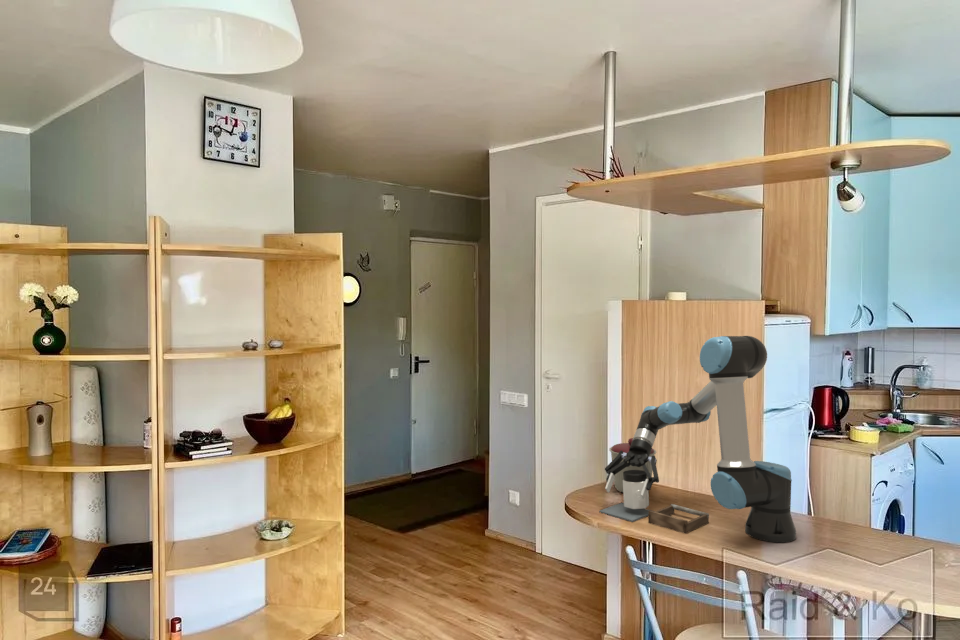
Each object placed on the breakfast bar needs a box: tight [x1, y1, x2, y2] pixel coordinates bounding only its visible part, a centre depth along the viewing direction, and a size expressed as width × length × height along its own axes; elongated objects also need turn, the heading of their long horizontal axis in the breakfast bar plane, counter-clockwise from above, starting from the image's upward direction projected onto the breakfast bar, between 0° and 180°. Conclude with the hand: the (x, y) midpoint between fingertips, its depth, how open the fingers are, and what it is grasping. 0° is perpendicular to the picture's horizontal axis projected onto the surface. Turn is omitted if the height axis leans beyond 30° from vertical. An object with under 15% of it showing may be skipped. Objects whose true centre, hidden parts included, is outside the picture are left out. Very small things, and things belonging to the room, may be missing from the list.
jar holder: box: [647, 503, 710, 534], centre depth 226 cm, size 14×15×4 cm
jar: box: [622, 470, 650, 509], centre depth 235 cm, size 9×8×12 cm
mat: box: [598, 502, 656, 523], centre depth 236 cm, size 14×14×1 cm
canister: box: [608, 437, 657, 494], centre depth 262 cm, size 18×18×21 cm
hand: (624, 493), depth 234 cm, fingers open, 13 cm apart
